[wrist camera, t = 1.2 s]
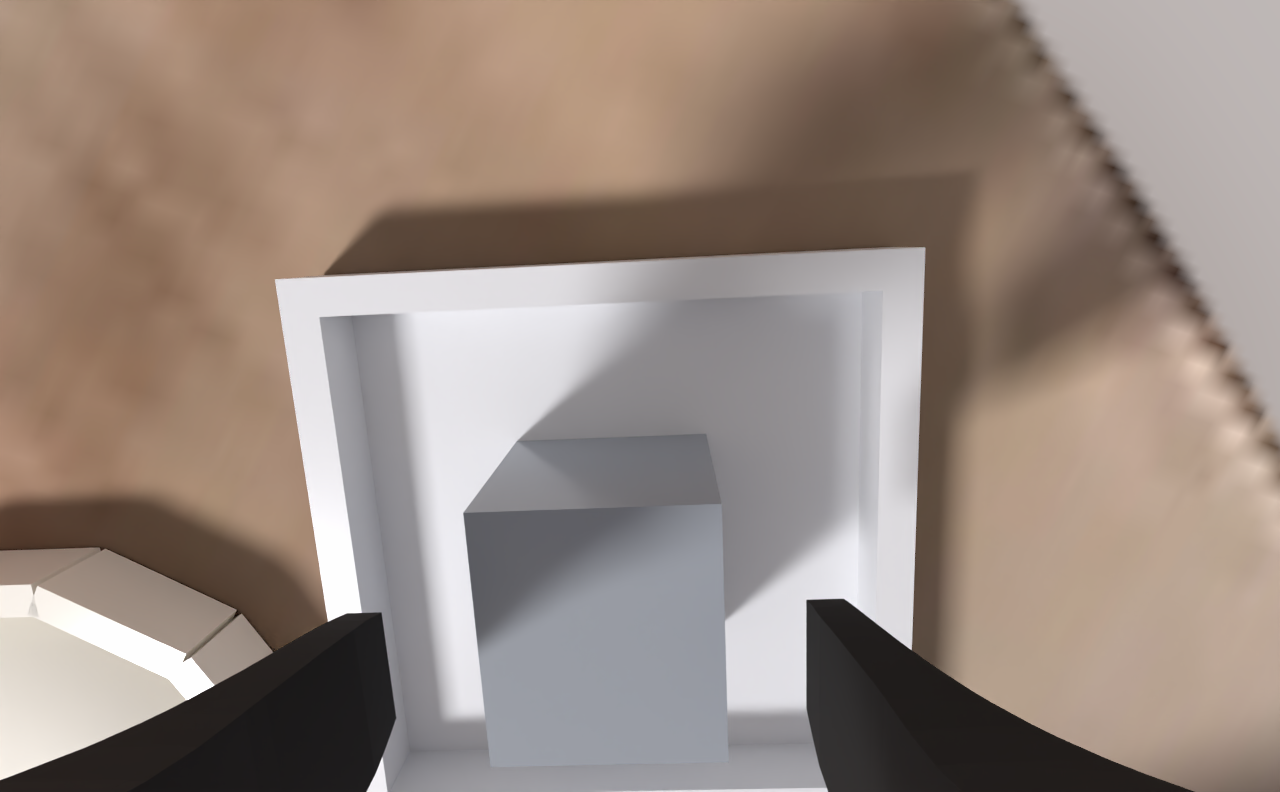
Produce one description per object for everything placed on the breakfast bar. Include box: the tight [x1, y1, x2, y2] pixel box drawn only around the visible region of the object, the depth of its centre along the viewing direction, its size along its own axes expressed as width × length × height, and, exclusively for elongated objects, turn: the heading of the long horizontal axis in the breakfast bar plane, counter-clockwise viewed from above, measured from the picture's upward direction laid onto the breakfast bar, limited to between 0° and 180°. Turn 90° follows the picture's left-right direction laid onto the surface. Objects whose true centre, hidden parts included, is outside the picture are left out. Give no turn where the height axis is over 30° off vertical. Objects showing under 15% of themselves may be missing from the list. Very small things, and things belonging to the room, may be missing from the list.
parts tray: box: [275, 247, 925, 792], centre depth 16 cm, size 13×13×2 cm
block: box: [463, 434, 729, 767], centre depth 15 cm, size 5×4×4 cm
